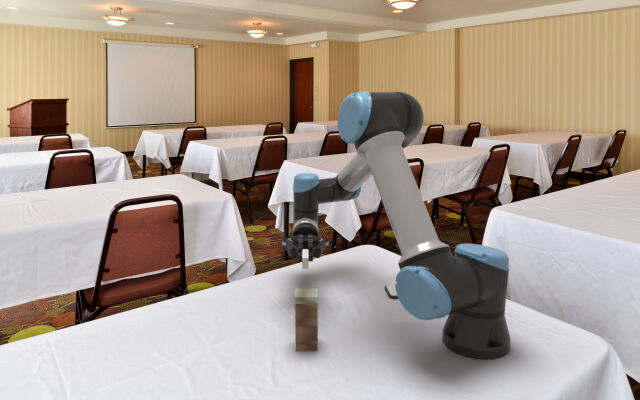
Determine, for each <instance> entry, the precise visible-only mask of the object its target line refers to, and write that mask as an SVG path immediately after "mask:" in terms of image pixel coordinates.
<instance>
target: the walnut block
mask: <svg viewBox="0 0 640 400" xmlns="http://www.w3.org/2000/svg"><path fill="white" fill-rule="evenodd" d="M318 290H319V289H318V287H316V288H315V287H312V288H311V287H310V288H309V287H304V288H302V287H301V288H299V287H297V288H296V287H295V291H294V308H295V309H294V314H295V315H294V319H295V321H294V322H295V323H294V325H295V328H294V329H295V331H294V332H295V333H294V334H295V337H294V338H295V352H305V351H306V352H314V351H315V352H317V351H318V348H319V344H318V343H319V339H318V338H319V335H318V334H319V333H318V330H319V327H318V326H319V324H318V323H319V319H318V318H319V317H318V316H319V307H318V306H319V305H318V304H319V294H318Z"/></svg>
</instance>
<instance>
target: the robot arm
mask: <svg viewBox="0 0 640 400" xmlns="http://www.w3.org/2000/svg"><path fill="white" fill-rule="evenodd" d="M339 106H340V107H339V110H338V114H337V130H338V135H339V137H340V138H341V139H342V141H343V142H345V143H346V144H348V145H349V144H351V145H352V144H353V145H354V148H355V150H356V151H355V152H356V154H355V155H354V156H353V158H352V159H350V161H349V162H348V163H347V164H346V165H345V166H344V167H343V168H342V169H341V170H340V172H339V173H338V174H337V175H336V176H335V177H329V178H320V177H319V175H318V174H316V173H309V172H306V173H297V174H296V175H294V177H293V184H292V185H293V187H292V190H293V194H292V195H293V196H292V197H293V214H292V215H293V217H292V218H293V220H292V221H293V225H292V226H293V228H292V235H291V236H290V238H288V237H282V239H281V243H282V244H281V245H282V246H281V247H282V248H283V249H285V250H286V251H287V253H288V255H289V256H290V258H291V259H295V258H296V257H297V262H298V263H299V262H301V268H302V269H304V270H305V269H306V270H308V269H309V262H313V261H314V258H316V259H320V258H321V256H322V255H323V253H324V252H325V250H326V249H328V248H329V247H330V245H329V244H330V238H328V237H324V238H322V237H321V236H320V233H319V205H320V204H321V205H323V204H329V203H337V202H347V201H348V202H349V201H351V200H355V199H357V198H359V196H360V194H361V192H362V185H364V183H366V181H367V180H369V179H370V178H371V177H372V178H373V180H374V184H375V186H376V188H377V191H378V194H379V196H380V199H381V201H382V205H383V208H384V209H385V213H386V215H387V218H388V221H389V223H390V226H391V229H392V231H393V234H394V237H395V239H396V240H395V241H397V245H398V247H399V250H400V253H401V256H400V258H399V260H398V262H397V265H398V267H399V271H398V272H397V274H396V276H395V280H394V281H395V282H396V283H395V284H394V285H395V288H396V293H397V296H398V298H399V299H398V300H399V302H400V304H401V305H402V307H403V308H404V309H405V311H407V312H408V314H410V315H412V316H413V317H415V319H418V320H422V321H432V320H435V319H442V318H446V317H447V318H446V321H445V324H444V325H443V328H442V334H441V335H442V336H441V337H442V342H443V344H444V345H445V346H446V347H447V348H448V349H450V350H451V351H453V352H454V353H456V354H459V355H461V356H465V357H467V358H468V357H469V358H473V359H483V360H491V359H498V358H500V357H504V356H506V355H507V354H509V352H510V350H511V335H510V332H509V328H508V327H509V326H508V324H507V319H506V316H505V314H506V305H507V304H506V303H507V293H508V291H507V290H508V281H509V272H510V269H509V268H510V257H509V256H508V255H507V253H506V252H504V251H503V250H500V249H498V248H495V247H492V246H488V245H482V244H475V243H459V244H456V246H455V249H454V254H453V252H452V249H451V247H450V245H448V244H446V243H445V242H442V241H440V239H439V237H438V234H437V232H436V229H435V226H434V224H433V222H432V219H431V217H430V214H429V212H428V209H427V207H426V204H425V202H424V199H423V196H422V194H421V192H420V189H419V186H418V184H417V181H416V179H415V177H414V174H413V171H412V169H411V166H410V163H409V161H408V159H407V157H406V153H405V152H404V149H406V148H407V147H408V146H409V145H410V144H411V143H412V142H414V140H415V139H416V138H417V137H418V136H419V134H420V133H421V130H422V129H423V126H424V119H425V118H424V111H423V107H422V105H421V103H420V102H419V101H418V99H416V98H415V97H414V96H413V95H411V94H410V93H407V92H403V91H394V92H393V91H384V92H382V91H380V92H379V91H378V92H375V91H374V92H373V91H371V92H369V91H366V90H363V91H360V92H352V93H350V94H349V95H347V96H346V97H345V98H344V99H343V101H342V102H341V104H340V105H339Z"/></svg>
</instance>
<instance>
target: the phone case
mask: <svg viewBox="0 0 640 400" xmlns="http://www.w3.org/2000/svg"><path fill="white" fill-rule="evenodd" d="M384 291H385V293H386V295H387V297H388V299H391V300H399V298H398V296H397V293H396V288H395V284H386V285H385V286H384Z"/></svg>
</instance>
